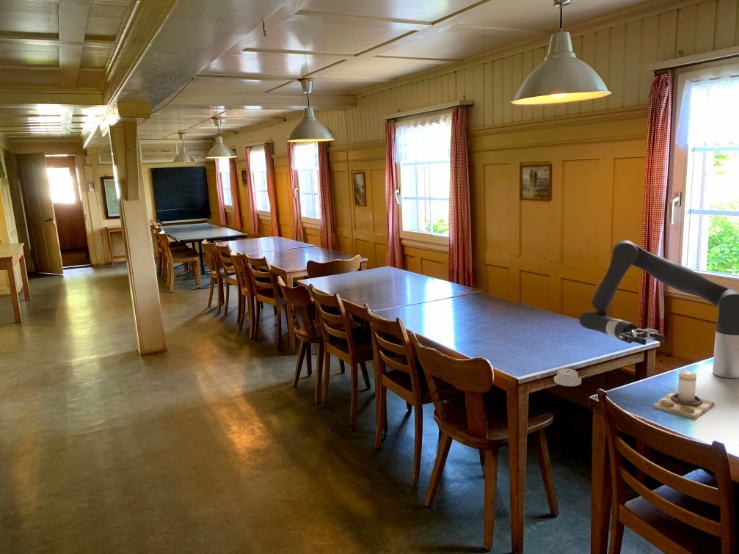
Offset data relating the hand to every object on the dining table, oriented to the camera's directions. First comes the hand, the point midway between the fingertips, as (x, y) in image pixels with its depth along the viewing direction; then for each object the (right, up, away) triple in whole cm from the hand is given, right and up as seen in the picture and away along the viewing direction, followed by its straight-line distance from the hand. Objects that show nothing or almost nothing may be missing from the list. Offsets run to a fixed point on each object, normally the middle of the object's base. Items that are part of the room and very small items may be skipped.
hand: (654, 340), depth 195 cm
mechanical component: (-27, -18, +14) cm, 35 cm away
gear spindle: (+5, -19, -11) cm, 23 cm away
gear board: (+4, -21, -12) cm, 24 cm away
